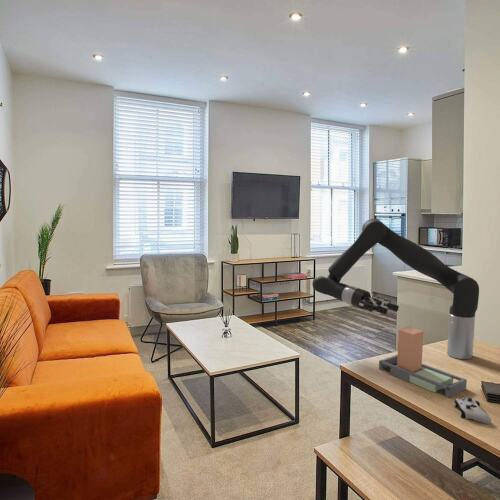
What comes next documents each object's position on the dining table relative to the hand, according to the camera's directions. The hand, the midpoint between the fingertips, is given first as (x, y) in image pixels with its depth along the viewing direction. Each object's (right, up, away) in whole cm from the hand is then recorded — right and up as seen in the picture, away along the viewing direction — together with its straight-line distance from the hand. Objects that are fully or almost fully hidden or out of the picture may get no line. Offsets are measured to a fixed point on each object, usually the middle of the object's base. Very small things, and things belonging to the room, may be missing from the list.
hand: (392, 310), depth 149 cm
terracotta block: (+5, -20, -4) cm, 21 cm away
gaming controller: (+12, -27, -31) cm, 42 cm away
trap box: (+7, -23, -7) cm, 25 cm away
